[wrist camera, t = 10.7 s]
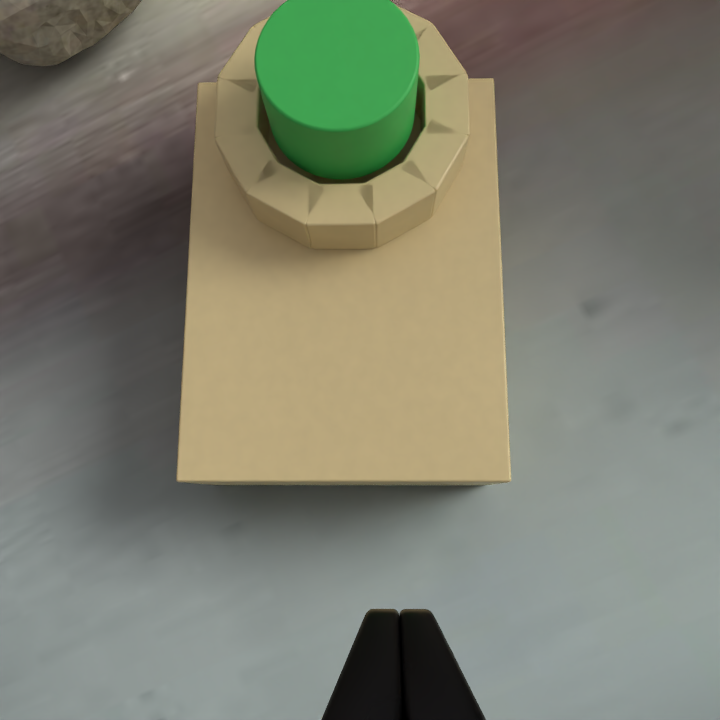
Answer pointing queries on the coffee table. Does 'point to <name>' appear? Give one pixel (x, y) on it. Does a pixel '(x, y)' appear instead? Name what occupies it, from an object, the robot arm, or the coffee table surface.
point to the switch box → (345, 297)
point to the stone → (56, 27)
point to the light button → (339, 83)
